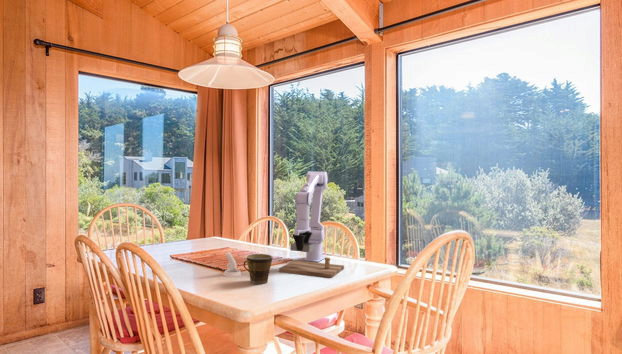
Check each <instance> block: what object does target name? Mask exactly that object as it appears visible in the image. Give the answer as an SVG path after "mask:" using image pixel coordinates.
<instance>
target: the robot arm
mask: <svg viewBox="0 0 622 354" xmlns="http://www.w3.org/2000/svg"><path fill="white" fill-rule="evenodd" d="M305 179H306V180H305V181H306V183H305V184H303V185H302V187H301V189H300V190H299V191H297V193H295V196H294V202H295V209H296V219H295V220H296V221H295V222H296V224H295V225H296V227H294V228H293V234H292V238H293V240H294V242H295V243H296V248H297V250H298V251H297V252H301V251H302V248H303V243H313V244H314V250H313V251H311V252H305V253H306V255H305V256H306V257H305V258H303V260H302V261H307V262H316V263H320V262H321V261H323V260H325V257H324V244H323V242H324V240H325V237H326V236H325V235H326V234H325V232H326V231H325V228H326V227H325V226H324V225H323V224H322V223H321V214H322V212H321V211H322V203H323V202H322V201H323V194H324V191H325V190H326V189H327V187H328V180H329V179H328V172H327V171H310V170H308V171H307V173H306V178H305ZM310 205H311V207H310ZM310 208H311V212H310Z"/></svg>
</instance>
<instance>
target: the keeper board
mask: <svg viewBox="0 0 622 354" xmlns="http://www.w3.org/2000/svg"><path fill="white" fill-rule="evenodd" d="M330 260H331V257H330V256H329V257H328V256H327V257H324V262H313V261H304V260H292V261H291V262H289V263H286V264H285V265H282V266H280V267H278V272H279V273H285V274H286V273H288V274H295V275H296V274H297V275H302V276H303V275H305V276H313V277H319V276H320V277H321V278H328V279H329V278H330V279H333V277H335V276H336V275H338V274H339V273H340V272H342V271H343V270H345V265H342V264H335V263H334V264H333V263H330Z"/></svg>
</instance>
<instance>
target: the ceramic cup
mask: <svg viewBox="0 0 622 354" xmlns="http://www.w3.org/2000/svg"><path fill="white" fill-rule="evenodd" d="M272 263H273V255H270V254H268V253H267V254H265V253H254V254H249V255H247V256H246V260H244V262H243V268H244V269H246V270H247V272H248V274H249V280H250V284H253V285H264V284H267V283H268V281H269V275H270V269H271V267H272ZM246 264H247V267H246Z"/></svg>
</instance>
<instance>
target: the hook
mask: <svg viewBox="0 0 622 354" xmlns="http://www.w3.org/2000/svg"><path fill="white" fill-rule="evenodd" d="M225 257H226V258H227V260H228V263H227V265H226V267H227V269H226V270H224V272H223V276H224V277H228V278H236V277H240V276H242V275H243V274H242V271H241V270H240V269H238V264H237V262H236V260H235V258H234V256H233V254H232V253H231V252H229V251H227V252H225Z"/></svg>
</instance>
